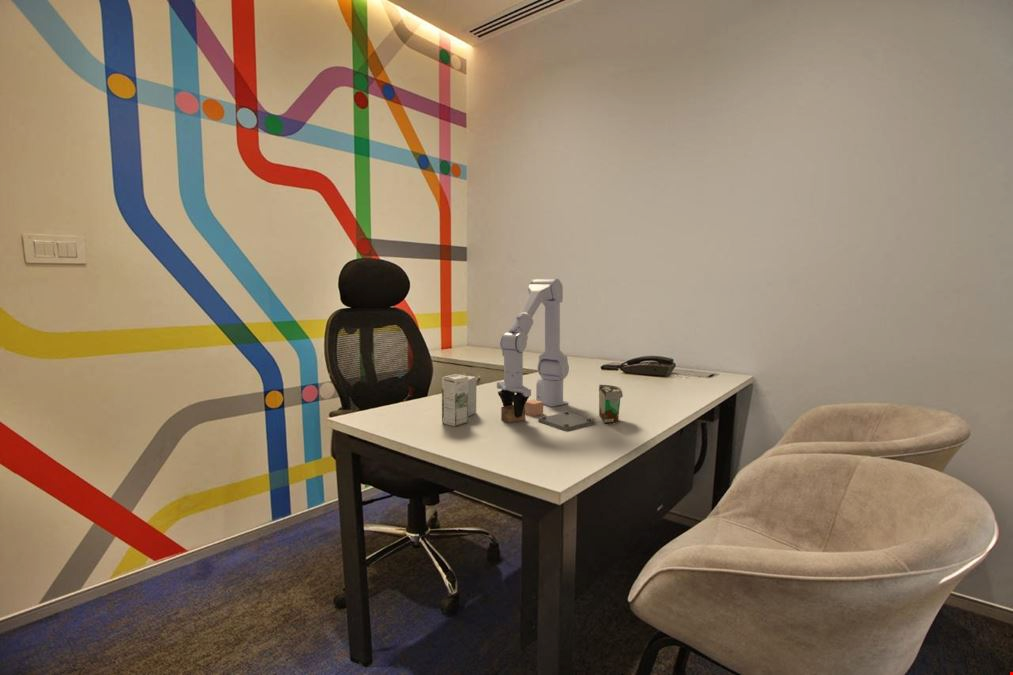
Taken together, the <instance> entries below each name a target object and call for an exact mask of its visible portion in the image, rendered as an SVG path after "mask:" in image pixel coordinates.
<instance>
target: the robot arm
mask: <svg viewBox="0 0 1013 675" xmlns="http://www.w3.org/2000/svg"><path fill="white" fill-rule="evenodd" d="M563 290H564V288H563V284H562V281H561V280H560V279H559V278H532V279H531V280H530V282H529V285H528V288H527V291H528V297H527V299H526V302H525V303H524V304H525V305H524V307H523V309H522V312H520V313H517V314H516V316H515V318H514V320H513V322H512V324H511V326H510V328H508V329H509V330H508V332H507V331H506V332H505V333H504V334H503V335H501V337H500V341H499V344H500V345H499V346H500V349H501V352H502V353H501V354H502V357H503V381H497V382H496V389H499V390H500V391H497V395H498V396H499V397H500V400H501V403H502V407H504V406H509V405H514V414H515V417H516V418H517V417H522V413H523V409H524V406H525V403H526V401H528V399H529V398H530V397H531V396H532V389H531V388H529V387H526V386H525V385H523V381H524V380H523V378H524V377H523V375H524V364H523V363H524V361H523V360H524V355H523V354H524V353H523V352H524V351H525V350H526V348H527V345H528V337H529V336H528V334H529V333H530V330H532V329H531V328H532V327H533V324H534V320H533V317H534V315H535V314H536V311H537V310H538V309H539V307H540V306H541V304H542V305H544V352H542V353H541V354H540V355H539V356H538V362H537V372H538V375H539V376H540V377H539V378H538V379H537V382H536V388H535V389H536V391H535V392H536V395H535V398H536V399H535V400H538V401H541V402H543V405H545V406H549V407H551V408H552V407H558V406H562V405H567V404H569V401H566V400H564V380H565V379H566V378H567V376H568V374H569V372H570V371H569V370H570V367H569V365H570V364H569V363H568V356H567V355H566V354H565V353H564V352H562V351H561V303H563V296H564V294H563V292H564V291H563Z"/></svg>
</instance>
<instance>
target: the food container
mask: <svg viewBox="0 0 1013 675" xmlns="http://www.w3.org/2000/svg"><path fill="white" fill-rule="evenodd" d="M598 386H599V387H598V392H599V394H598V397H599V400H598V401H599V402H598V407H599V409H598V411H599V412H598V416H599V418H600V420H601V422H602V423H603V425H604V424H608V425H614V424H613V423H615V424H617V423H618V422H619V419H620V418H619V417H620V416H619V415H620V405H621V398H623V397H624V395H623V391H622V388H621V387H619V386H616V385H612V384H610V385H609V384H599V385H598ZM616 422H617V423H616Z"/></svg>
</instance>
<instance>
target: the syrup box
mask: <svg viewBox="0 0 1013 675" xmlns="http://www.w3.org/2000/svg"><path fill="white" fill-rule="evenodd" d="M467 376H468V375H465V374H461V373H460V374H459V373H455V374H450V375H446V376H442V377H441V423H442V424H443V423H444V425H446V426H447V425H448V426H452V427H458V426H461V425H464V424H467V423H468V422H469V417H468V377H467Z"/></svg>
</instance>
